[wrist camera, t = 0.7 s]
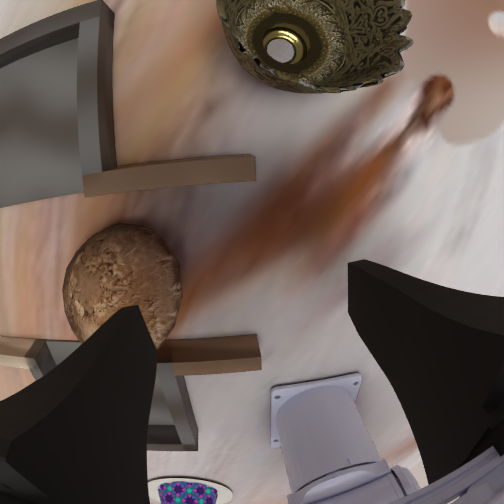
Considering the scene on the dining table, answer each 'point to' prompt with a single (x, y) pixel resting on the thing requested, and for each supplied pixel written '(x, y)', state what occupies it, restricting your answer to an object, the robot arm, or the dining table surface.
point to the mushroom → (123, 281)
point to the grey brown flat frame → (98, 187)
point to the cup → (318, 41)
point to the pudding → (188, 492)
